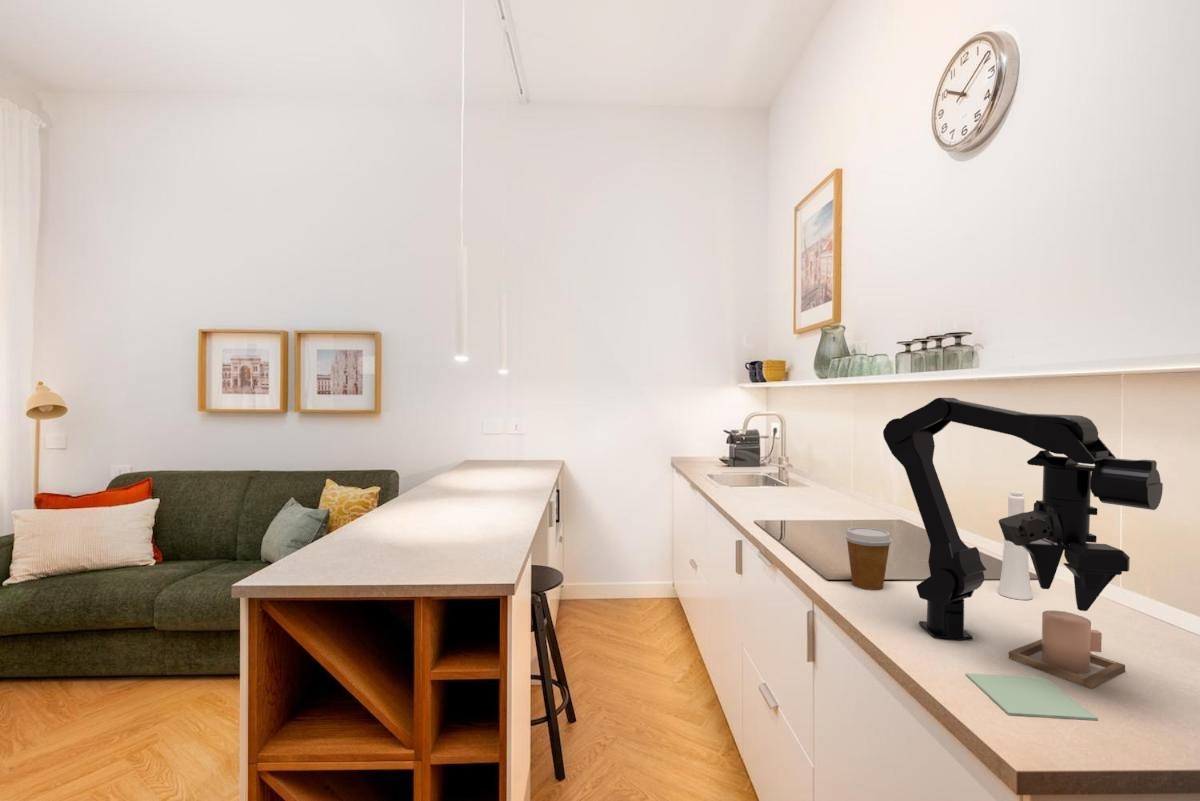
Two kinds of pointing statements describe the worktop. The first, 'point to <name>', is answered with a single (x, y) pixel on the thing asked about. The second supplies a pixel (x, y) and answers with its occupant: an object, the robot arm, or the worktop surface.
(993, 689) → the sage mat
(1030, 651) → the walnut collar
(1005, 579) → the cosmetic bottle
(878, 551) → the disposable coffee cup
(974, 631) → the worktop surface
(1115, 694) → the worktop surface
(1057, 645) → the peach round cylinder
